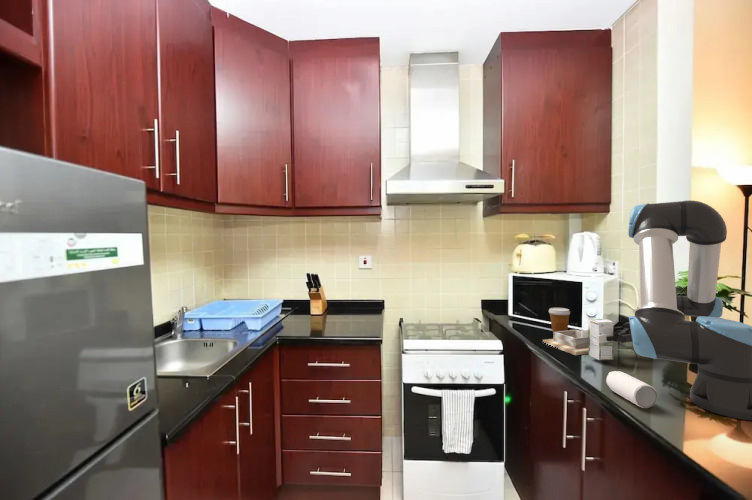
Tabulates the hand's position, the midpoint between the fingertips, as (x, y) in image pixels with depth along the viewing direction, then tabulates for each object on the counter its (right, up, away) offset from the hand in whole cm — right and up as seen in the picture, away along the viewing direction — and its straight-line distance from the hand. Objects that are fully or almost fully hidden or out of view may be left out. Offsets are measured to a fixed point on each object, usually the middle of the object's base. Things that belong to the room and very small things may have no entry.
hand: (589, 336), depth 126 cm
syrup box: (+5, -9, +1) cm, 10 cm away
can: (-7, -7, -35) cm, 37 cm away
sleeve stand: (+6, -9, +20) cm, 23 cm away
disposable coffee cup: (+11, -9, +41) cm, 44 cm away
